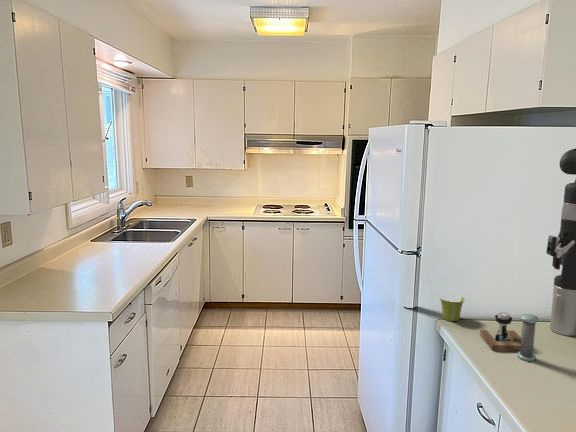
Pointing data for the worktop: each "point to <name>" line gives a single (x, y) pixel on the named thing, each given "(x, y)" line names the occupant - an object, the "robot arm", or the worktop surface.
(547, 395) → the worktop surface
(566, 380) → the worktop surface
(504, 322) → the push button
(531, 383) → the worktop surface
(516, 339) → the notched board
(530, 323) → the spool
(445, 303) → the plant pot
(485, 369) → the worktop surface
